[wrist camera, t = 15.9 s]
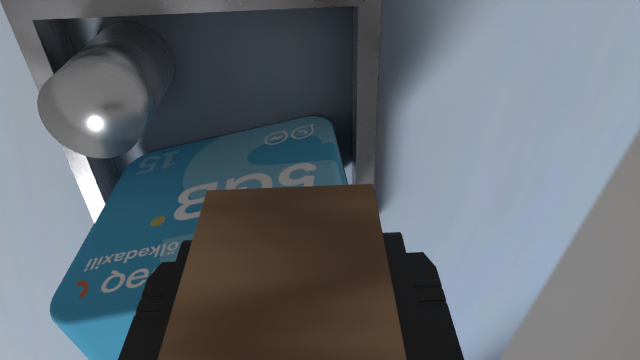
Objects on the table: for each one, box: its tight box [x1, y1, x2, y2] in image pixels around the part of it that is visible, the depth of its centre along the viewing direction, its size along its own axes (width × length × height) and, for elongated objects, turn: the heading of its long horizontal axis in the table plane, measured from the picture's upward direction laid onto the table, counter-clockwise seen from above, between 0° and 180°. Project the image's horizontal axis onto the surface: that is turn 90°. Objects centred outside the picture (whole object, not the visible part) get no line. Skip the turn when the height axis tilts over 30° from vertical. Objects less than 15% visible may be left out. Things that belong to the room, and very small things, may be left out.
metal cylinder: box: [37, 22, 175, 158], centre depth 21 cm, size 4×4×6 cm
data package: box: [50, 116, 348, 360], centre depth 23 cm, size 12×4×12 cm, turn 104°
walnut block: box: [158, 184, 406, 360], centre depth 10 cm, size 4×4×6 cm
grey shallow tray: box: [0, 0, 382, 223], centre depth 25 cm, size 21×16×2 cm
